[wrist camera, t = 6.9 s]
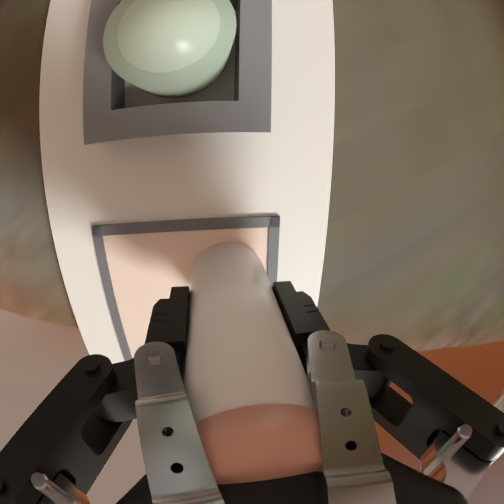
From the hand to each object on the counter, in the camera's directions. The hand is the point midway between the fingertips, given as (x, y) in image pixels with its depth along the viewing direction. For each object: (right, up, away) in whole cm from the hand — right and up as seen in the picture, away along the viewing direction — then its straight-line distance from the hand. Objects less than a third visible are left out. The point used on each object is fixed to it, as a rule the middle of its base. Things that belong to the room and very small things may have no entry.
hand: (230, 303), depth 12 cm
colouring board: (-3, +5, +2) cm, 6 cm away
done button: (-2, +10, -3) cm, 11 cm away
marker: (0, +1, +2) cm, 2 cm away
